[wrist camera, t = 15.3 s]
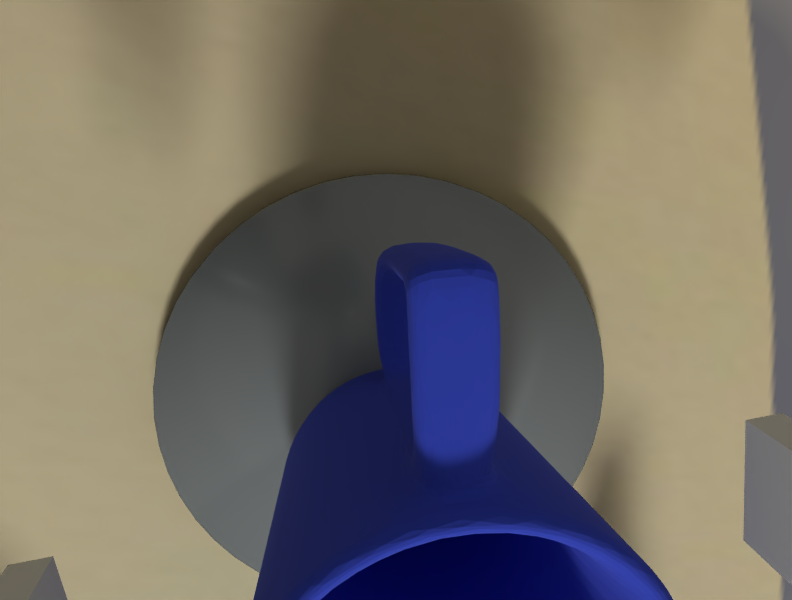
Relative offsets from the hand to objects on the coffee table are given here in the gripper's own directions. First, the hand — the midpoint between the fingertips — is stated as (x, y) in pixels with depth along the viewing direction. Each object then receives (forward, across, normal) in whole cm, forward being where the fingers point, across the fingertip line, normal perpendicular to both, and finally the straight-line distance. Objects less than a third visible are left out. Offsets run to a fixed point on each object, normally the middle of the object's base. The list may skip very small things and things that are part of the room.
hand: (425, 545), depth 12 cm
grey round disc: (+9, 0, -1) cm, 9 cm away
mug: (+8, 0, -1) cm, 8 cm away
